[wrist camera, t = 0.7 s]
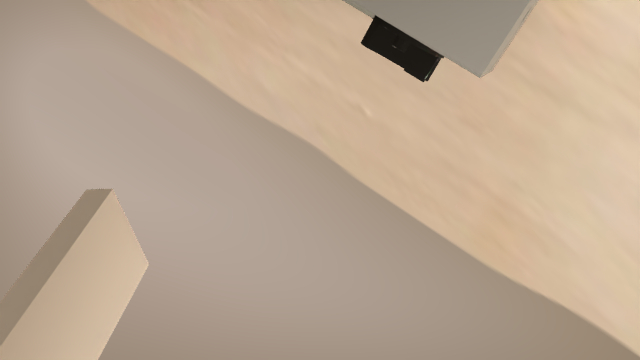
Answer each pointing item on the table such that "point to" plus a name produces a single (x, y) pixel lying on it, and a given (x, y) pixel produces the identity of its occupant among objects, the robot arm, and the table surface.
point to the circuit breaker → (443, 32)
